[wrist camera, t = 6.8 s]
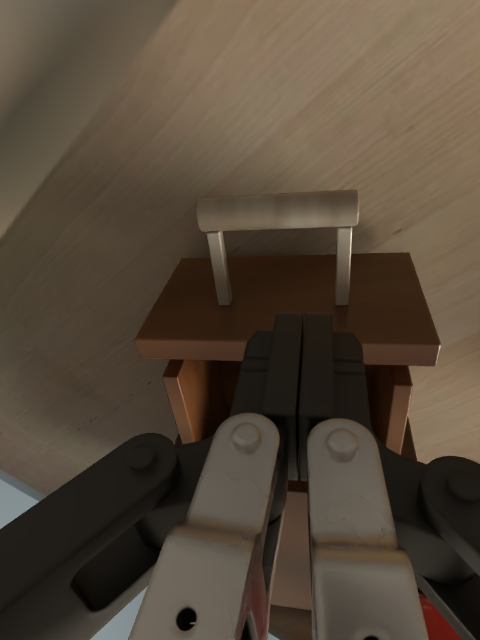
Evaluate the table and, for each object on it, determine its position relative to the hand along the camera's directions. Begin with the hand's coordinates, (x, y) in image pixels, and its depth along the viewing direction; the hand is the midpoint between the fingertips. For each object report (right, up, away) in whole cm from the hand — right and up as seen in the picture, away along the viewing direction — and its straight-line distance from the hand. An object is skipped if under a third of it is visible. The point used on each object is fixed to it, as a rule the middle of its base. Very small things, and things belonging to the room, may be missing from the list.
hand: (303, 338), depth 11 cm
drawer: (+2, 0, +15) cm, 15 cm away
